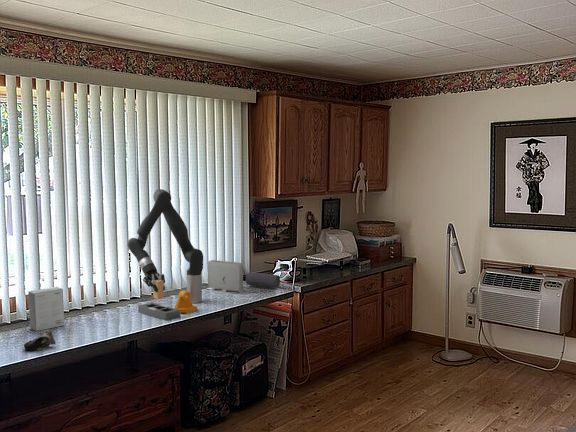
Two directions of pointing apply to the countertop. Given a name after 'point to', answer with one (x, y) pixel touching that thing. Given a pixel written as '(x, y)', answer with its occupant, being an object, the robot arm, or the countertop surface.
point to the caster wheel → (40, 342)
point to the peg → (160, 289)
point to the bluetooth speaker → (263, 280)
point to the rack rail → (159, 311)
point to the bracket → (185, 302)
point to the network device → (225, 276)
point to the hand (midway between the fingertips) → (160, 290)
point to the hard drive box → (46, 308)
